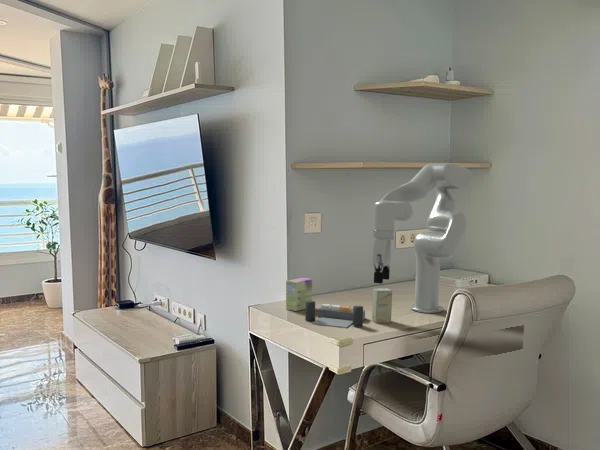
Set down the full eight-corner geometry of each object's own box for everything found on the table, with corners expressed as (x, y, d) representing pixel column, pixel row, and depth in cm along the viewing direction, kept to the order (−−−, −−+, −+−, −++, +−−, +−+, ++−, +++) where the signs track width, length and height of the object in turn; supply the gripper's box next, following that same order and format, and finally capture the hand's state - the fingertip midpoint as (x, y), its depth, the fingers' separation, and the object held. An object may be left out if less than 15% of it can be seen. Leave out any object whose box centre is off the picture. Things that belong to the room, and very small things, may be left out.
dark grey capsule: (354, 324, 202) (354, 305, 202) (363, 325, 201) (364, 306, 200) (351, 326, 199) (351, 307, 199) (361, 327, 198) (361, 308, 197)
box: (301, 305, 232) (301, 277, 231) (312, 307, 228) (312, 278, 227) (285, 309, 224) (285, 280, 223) (296, 311, 220) (296, 282, 219)
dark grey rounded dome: (307, 318, 210) (307, 300, 209) (316, 319, 208) (316, 301, 208) (303, 320, 206) (304, 302, 206) (312, 322, 205) (313, 303, 204)
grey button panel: (323, 313, 218) (323, 302, 218) (365, 318, 211) (365, 306, 211) (307, 323, 203) (307, 311, 202) (352, 328, 196) (352, 316, 196)
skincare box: (375, 323, 204) (376, 290, 203) (371, 320, 208) (372, 288, 207) (391, 322, 205) (392, 290, 204) (387, 319, 210) (388, 287, 209)
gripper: (379, 232, 213) (377, 277, 215) (367, 236, 197) (365, 283, 199) (398, 234, 211) (396, 278, 212) (387, 237, 195) (385, 285, 196)
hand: (381, 281), depth 205 cm, fingers open, 9 cm apart
